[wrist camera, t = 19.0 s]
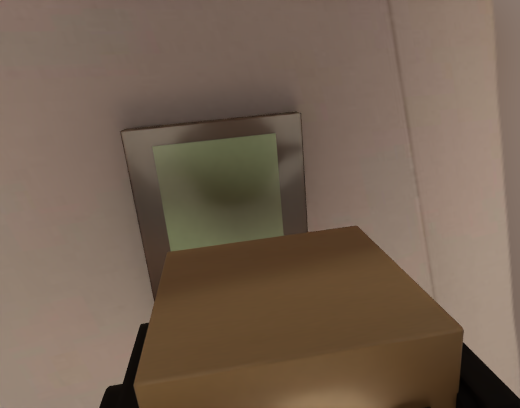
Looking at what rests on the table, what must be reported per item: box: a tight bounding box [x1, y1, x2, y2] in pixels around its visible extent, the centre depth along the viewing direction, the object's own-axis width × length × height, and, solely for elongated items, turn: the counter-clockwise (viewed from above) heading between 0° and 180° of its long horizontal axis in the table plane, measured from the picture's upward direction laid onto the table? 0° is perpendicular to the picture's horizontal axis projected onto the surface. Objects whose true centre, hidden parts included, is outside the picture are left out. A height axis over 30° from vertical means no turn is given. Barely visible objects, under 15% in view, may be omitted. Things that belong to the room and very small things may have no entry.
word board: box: [121, 111, 308, 302], centre depth 23 cm, size 22×9×1 cm, turn 5°
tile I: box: [133, 226, 464, 408], centre depth 8 cm, size 5×5×5 cm
